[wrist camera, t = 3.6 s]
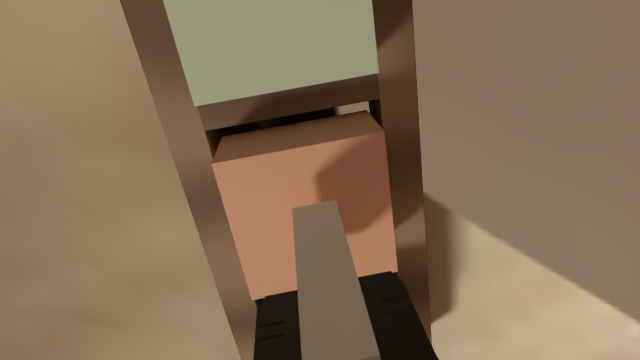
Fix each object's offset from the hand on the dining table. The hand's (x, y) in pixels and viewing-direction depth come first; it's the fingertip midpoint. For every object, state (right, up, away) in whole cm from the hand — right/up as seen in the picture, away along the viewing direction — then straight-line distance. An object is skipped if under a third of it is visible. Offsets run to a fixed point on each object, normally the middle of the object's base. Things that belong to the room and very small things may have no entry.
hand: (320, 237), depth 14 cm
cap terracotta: (-1, +2, +4) cm, 4 cm away
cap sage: (-2, +9, 0) cm, 9 cm away
